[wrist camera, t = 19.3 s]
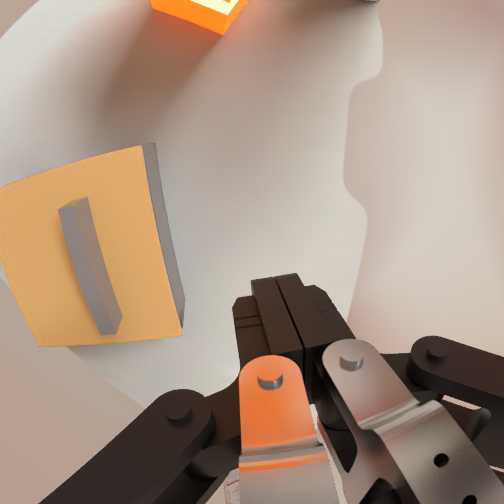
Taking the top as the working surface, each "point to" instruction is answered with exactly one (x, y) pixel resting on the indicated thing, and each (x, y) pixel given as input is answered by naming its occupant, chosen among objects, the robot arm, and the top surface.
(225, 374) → the top surface
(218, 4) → the orange juice
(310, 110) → the top surface
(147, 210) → the lid
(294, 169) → the top surface
